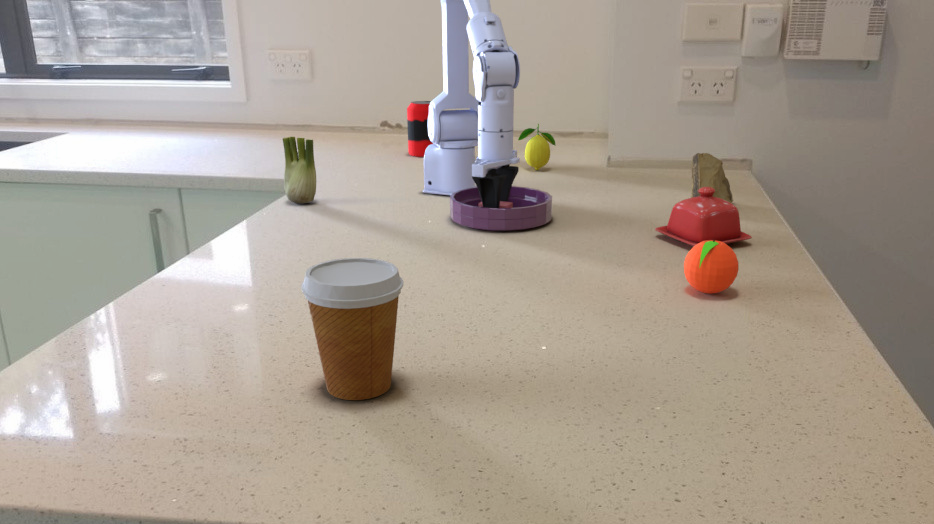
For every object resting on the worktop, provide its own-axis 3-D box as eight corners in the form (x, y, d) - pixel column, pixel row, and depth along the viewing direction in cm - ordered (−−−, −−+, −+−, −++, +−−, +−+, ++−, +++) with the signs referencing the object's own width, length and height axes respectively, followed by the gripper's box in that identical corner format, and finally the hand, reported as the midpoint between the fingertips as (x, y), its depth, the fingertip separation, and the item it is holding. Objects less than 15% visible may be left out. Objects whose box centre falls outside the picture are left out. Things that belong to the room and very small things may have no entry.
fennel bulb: (321, 203, 153) (316, 136, 149) (299, 207, 150) (293, 140, 146) (303, 198, 157) (298, 133, 153) (280, 202, 154) (274, 136, 149)
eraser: (478, 220, 141) (478, 203, 140) (485, 216, 143) (485, 199, 142) (505, 224, 139) (506, 206, 138) (512, 219, 142) (512, 202, 141)
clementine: (722, 307, 105) (729, 252, 102) (670, 297, 108) (675, 243, 105) (742, 289, 111) (748, 237, 108) (692, 280, 114) (697, 229, 112)
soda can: (446, 153, 201) (445, 101, 196) (427, 158, 195) (426, 105, 190) (421, 150, 204) (420, 99, 200) (401, 155, 199) (400, 102, 194)
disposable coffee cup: (316, 367, 87) (306, 257, 83) (408, 365, 88) (404, 255, 83) (303, 410, 78) (292, 288, 74) (406, 407, 79) (401, 286, 75)
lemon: (517, 171, 181) (518, 124, 178) (526, 166, 186) (527, 121, 183) (546, 174, 179) (548, 126, 175) (555, 169, 184) (556, 123, 180)
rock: (723, 185, 159) (675, 180, 157) (745, 154, 152) (696, 148, 150) (737, 230, 154) (688, 226, 151) (761, 200, 147) (710, 195, 144)
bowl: (433, 226, 139) (433, 202, 138) (475, 203, 154) (475, 182, 153) (530, 237, 133) (531, 213, 132) (564, 213, 148) (565, 191, 147)
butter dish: (697, 254, 125) (702, 198, 122) (650, 235, 135) (654, 183, 132) (755, 245, 130) (762, 191, 127) (706, 227, 140) (711, 176, 137)
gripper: (501, 138, 128) (500, 224, 133) (534, 125, 140) (532, 205, 146) (459, 134, 130) (460, 220, 136) (495, 122, 143) (495, 201, 148)
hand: (495, 212), depth 141 cm, fingers closed on eraser, 3 cm apart
